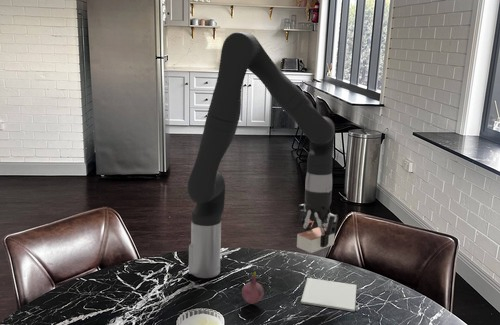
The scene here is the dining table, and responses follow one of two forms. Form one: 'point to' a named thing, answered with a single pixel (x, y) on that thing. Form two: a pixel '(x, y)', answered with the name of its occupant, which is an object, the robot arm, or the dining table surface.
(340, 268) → the dining table surface
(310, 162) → the robot arm
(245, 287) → the vegetable
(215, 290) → the dining table surface
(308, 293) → the mat
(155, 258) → the dining table surface
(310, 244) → the card box
